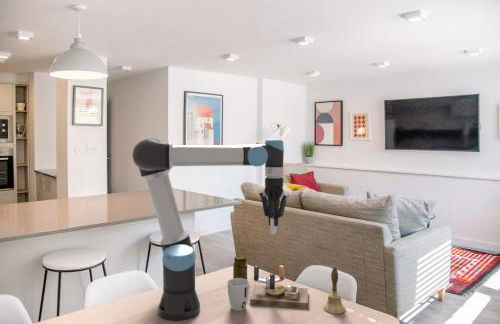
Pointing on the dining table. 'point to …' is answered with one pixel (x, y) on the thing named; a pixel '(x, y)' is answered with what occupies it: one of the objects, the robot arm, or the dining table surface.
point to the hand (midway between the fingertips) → (273, 233)
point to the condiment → (240, 267)
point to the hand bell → (334, 297)
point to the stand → (280, 297)
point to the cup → (238, 293)
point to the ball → (288, 289)
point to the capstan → (271, 282)
